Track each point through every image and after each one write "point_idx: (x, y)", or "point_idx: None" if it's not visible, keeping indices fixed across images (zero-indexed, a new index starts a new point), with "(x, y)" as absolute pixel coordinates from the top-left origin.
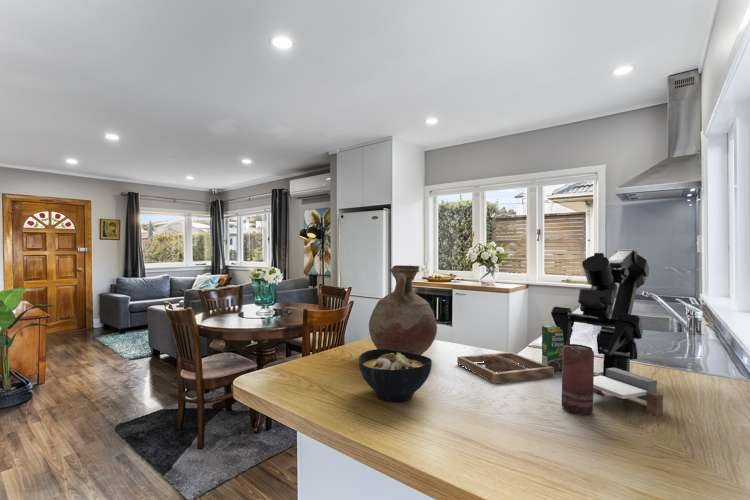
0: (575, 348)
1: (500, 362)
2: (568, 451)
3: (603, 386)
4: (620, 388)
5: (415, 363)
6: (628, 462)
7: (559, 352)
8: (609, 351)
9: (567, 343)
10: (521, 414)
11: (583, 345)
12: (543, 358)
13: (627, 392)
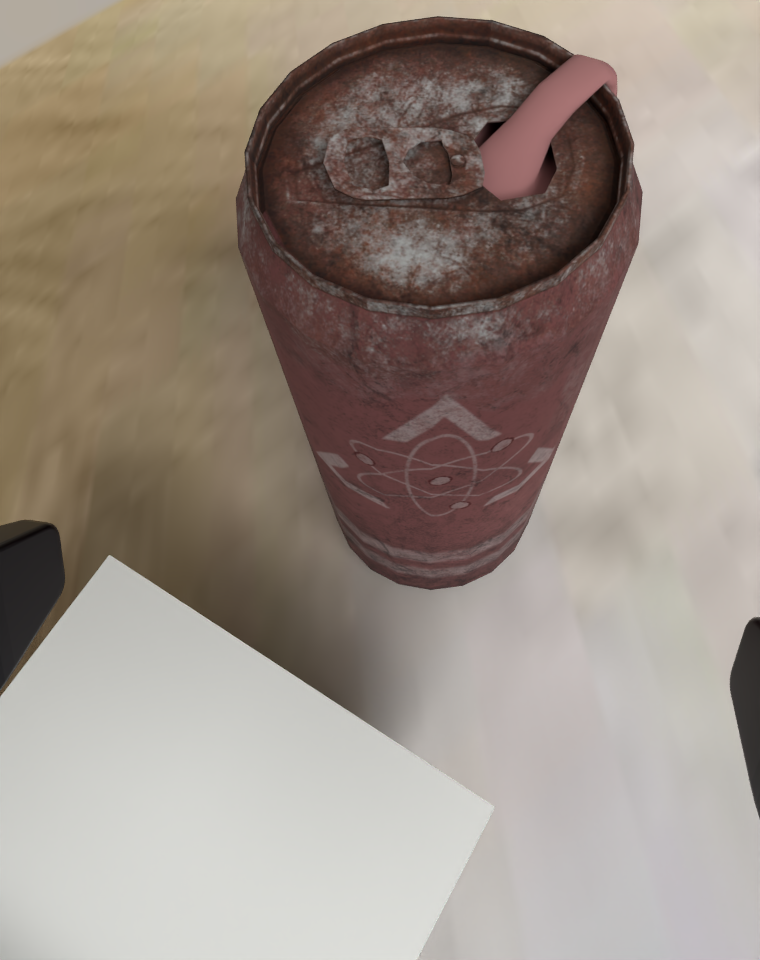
0: (463, 133)
1: None
2: None
3: (251, 698)
4: (111, 750)
5: None
6: (180, 106)
7: None
8: (24, 525)
9: (757, 726)
10: (667, 229)
11: (385, 299)
12: None
13: (66, 663)
